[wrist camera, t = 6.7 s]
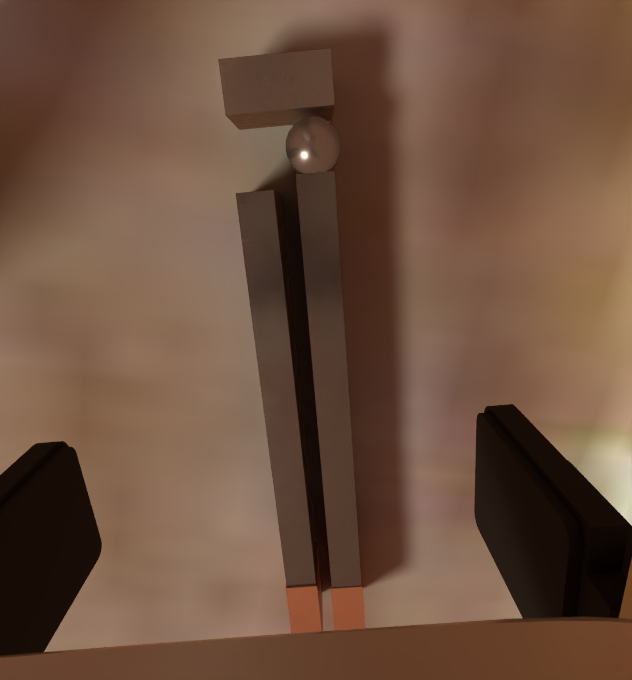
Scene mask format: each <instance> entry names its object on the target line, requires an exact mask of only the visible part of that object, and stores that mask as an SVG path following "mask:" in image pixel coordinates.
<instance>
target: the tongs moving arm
mask: <svg viewBox="0 0 632 680" xmlns="http://www.w3.org/2000/svg"><path fill="white" fill-rule="evenodd" d="M286 153H287V156H288V159H289V161H290V163H291V164H292V166H293V168H294V170H295V171H296V172H297V174H296V184H297V196H298V207H299V219H300V230H301V242H302V253H303V264H304V276H305V287H306V299H307V310H308V321H309V333H310V344H311V356H312V367H313V379H314V390H315V401H316V413H317V424H318V436H319V447H320V458H321V470H322V481H323V493H324V504H325V516H326V527H327V538H328V550H329V561H330V577H331V595H332V606H333V618H334V629H335V630H350V629H365V616H364V601H363V586H362V578H361V569H360V554H359V539H358V523H357V508H356V493H355V477H354V462H353V447H352V431H351V416H350V400H349V385H348V370H347V354H346V339H345V324H344V308H343V293H342V277H341V262H340V247H339V231H338V216H337V201H336V185H335V171H332V170H333V168H334V166H335V164H336V161H337V159H338V157H339V153H340V139H339V136H338V133H337V131H336V129H335V128H334V127H333V125H332V124H331V123H329V122H328V121H327V120H325V119H323V118H320V117H306V118H303V119H301V120H299V121H298V122H297V123H296V124H294V126H293V127H292V128H291V129H290V131H289V133H288V136H287V140H286Z"/></svg>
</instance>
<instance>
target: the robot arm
mask: <svg viewBox="0 0 632 680" xmlns="http://www.w3.org/2000/svg"><path fill="white" fill-rule="evenodd" d="M475 519H476V523H477V527H478V529H479V531H480V533H481V535H482V537H483V539H484V541H485V543H486V545H487V547H488V549H489V551H490V553H491V555H492V557H493V559H494V561H495V563H496V565H497V567H498V569H499V571H500V573H501V575H502V577H503V579H504V581H505V583H506V585H507V587H508V589H509V591H510V593H511V595H512V597H513V599H514V601H515V603H516V605H517V607H518V609H519V611H520V613H521V615H522V617H523V618H522V619H499V620H484V621H469V622H454V623H439V624H424V625H409V626H395V627H380V628H365V629H350V630H335V631H321V632H306V633H291V634H278V635H264V636H250V637H236V638H223V639H209V640H196V641H182V642H169V643H156V644H142V645H129V646H116V647H104V648H91V649H79V650H66V651H54V652H44V651H45V649H46V647H47V645H48V644H49V642H50V640H51V639H52V637H53V635H54V634H55V632H56V630H57V628H58V627H59V625H60V623H61V622H62V620H63V618H64V616H65V615H66V613H67V611H68V610H69V608H70V606H71V605H72V603H73V601H74V599H75V598H76V596H77V594H78V593H79V591H80V589H81V587H82V586H83V584H84V582H85V581H86V579H87V577H88V576H89V574H90V572H91V570H92V569H93V567H94V565H95V564H96V562H97V560H98V558H99V556H100V553H101V547H102V543H101V538H100V534H99V531H98V527H97V524H96V520H95V517H94V513H93V510H92V506H91V503H90V499H89V496H88V492H87V489H86V485H85V482H84V478H83V475H82V471H81V468H80V464H79V461H78V457H77V453H76V451H75V449H74V448H72V447H69V446H68V445H67V444H66V443H65V442H63V441H60V442H48V443H37V444H35V445H33V446H32V447H31V448H30V449H29V450H28V451H27V452H26V453H24V454H23V455H22V456H21V457H20V458H19V459H18V460H17V461H16V462H14V463H13V464H12V465H11V466H10V467H9V468H8V469H7V470H6V471H4V472H3V473H2V474H1V475H0V680H632V526H631V525H630V524H629V523H628V522H627V520H626V519H625V518H624V517H623V516H622V515H621V514H620V513H619V512H618V511H617V510H616V509H615V508H614V507H613V506H612V505H611V504H610V503H609V502H608V501H607V500H606V499H605V498H604V497H603V496H602V495H601V494H600V493H599V491H598V490H597V489H596V488H595V487H594V486H593V485H592V484H591V483H590V482H589V481H588V480H587V479H586V478H585V477H584V476H583V475H582V474H581V473H580V472H579V471H578V470H577V469H576V468H575V467H574V466H573V465H572V464H571V463H570V462H569V461H568V460H566V459H565V458H564V457H563V456H562V455H561V453H560V452H559V451H558V450H557V449H556V448H555V447H554V446H553V445H552V444H551V443H550V442H549V441H548V440H547V439H546V438H545V437H544V436H543V435H542V434H541V433H540V432H539V431H538V430H537V428H536V427H535V426H534V425H533V424H532V423H531V422H530V421H529V420H528V419H527V418H526V417H525V416H524V415H523V414H522V413H521V412H520V411H519V410H518V409H517V408H516V407H515V406H514V405H513V404H509V405H497V406H487V407H486V408H485V411H484V413H479V414H478V415H477V427H476V468H475Z"/></svg>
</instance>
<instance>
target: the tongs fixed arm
mask: <svg viewBox="0 0 632 680" xmlns="http://www.w3.org/2000/svg"><path fill="white" fill-rule="evenodd" d="M218 60H219V68H220V76H221V83H222V91H223V99H224V107H225V114H226V116H227V117H228V118H229V119H230V120H231V121H232V122H233V124H234V125H235V126H236V127H237V128H238V129H239V130H241V129H251V128H262V127H272V126H283V125H293V124H296V123H297V122H298V121H299V120H301V119H303V118H306V117H320V118H323V119H325V120H327V121H332V117H333V111H334V106H335V102H334V87H333V73H332V58H331V48H327V49H316V50H306V51H296V52H286V53H276V54H266V55H256V56H246V57H236V58H226V59H218ZM236 199H237V207H238V214H239V222H240V230H241V238H242V245H243V253H244V261H245V268H246V276H247V284H248V292H249V299H250V307H251V315H252V322H253V330H254V338H255V346H256V353H257V361H258V369H259V376H260V384H261V392H262V400H263V407H264V415H265V423H266V430H267V438H268V446H269V454H270V461H271V469H272V477H273V484H274V492H275V500H276V508H277V515H278V523H279V531H280V538H281V546H282V554H283V562H284V569H285V577H286V594H287V602H288V609H289V617H290V625H291V632H292V633H306V632H321V631H323V611H322V586H321V576H320V567H319V557H318V547H317V541H316V536H315V526H314V517H313V507H312V498H311V488H310V478H309V469H308V459H307V450H306V440H305V430H304V421H303V411H302V401H301V392H300V382H299V373H298V363H297V353H296V344H295V334H294V325H293V315H292V305H291V296H290V286H289V277H288V267H287V257H286V248H285V238H284V229H283V219H282V209H281V200H280V193H279V192H277V191H275V190H267V191H256V192H245V193H236Z"/></svg>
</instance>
